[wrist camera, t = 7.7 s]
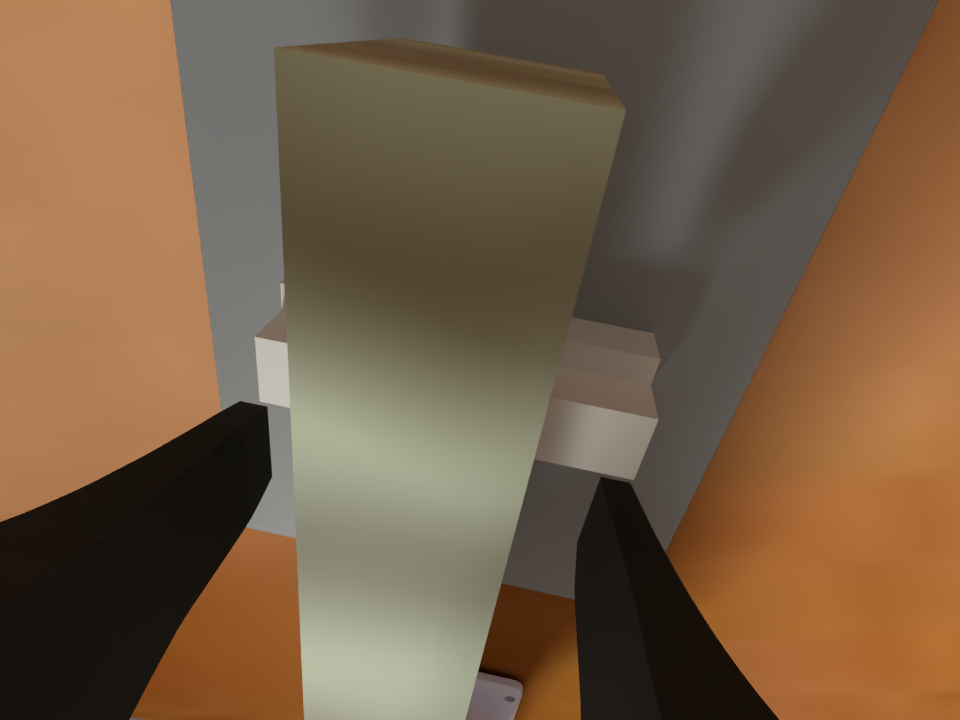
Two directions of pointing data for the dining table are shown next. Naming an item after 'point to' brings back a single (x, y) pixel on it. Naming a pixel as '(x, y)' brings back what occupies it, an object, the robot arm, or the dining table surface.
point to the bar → (422, 343)
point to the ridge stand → (619, 228)
